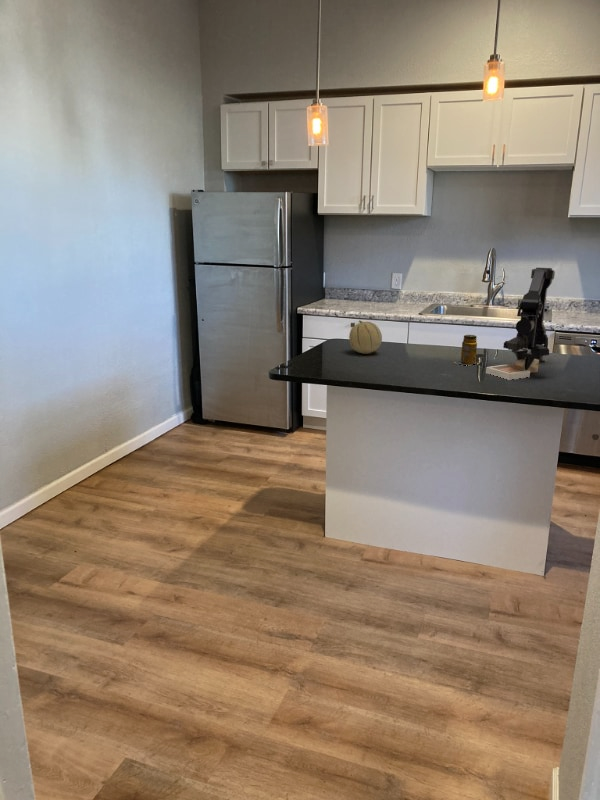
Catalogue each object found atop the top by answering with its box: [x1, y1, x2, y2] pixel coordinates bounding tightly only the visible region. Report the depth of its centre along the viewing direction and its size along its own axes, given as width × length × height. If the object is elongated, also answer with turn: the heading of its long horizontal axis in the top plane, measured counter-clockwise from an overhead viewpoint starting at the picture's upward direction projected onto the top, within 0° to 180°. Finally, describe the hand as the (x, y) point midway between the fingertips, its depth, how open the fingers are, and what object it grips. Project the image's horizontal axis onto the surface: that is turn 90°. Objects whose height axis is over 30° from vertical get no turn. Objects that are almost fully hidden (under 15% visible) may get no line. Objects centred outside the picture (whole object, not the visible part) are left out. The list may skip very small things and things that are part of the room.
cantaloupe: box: [348, 320, 383, 355], centre depth 276 cm, size 15×15×15 cm
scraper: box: [508, 359, 540, 374], centre depth 243 cm, size 11×7×5 cm, turn 116°
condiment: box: [453, 334, 480, 367], centre depth 257 cm, size 7×8×12 cm
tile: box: [498, 368, 520, 373], centre depth 240 cm, size 6×6×2 cm
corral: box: [485, 364, 531, 381], centre depth 239 cm, size 11×12×2 cm
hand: (523, 369), depth 243 cm, fingers closed on scraper, 2 cm apart
